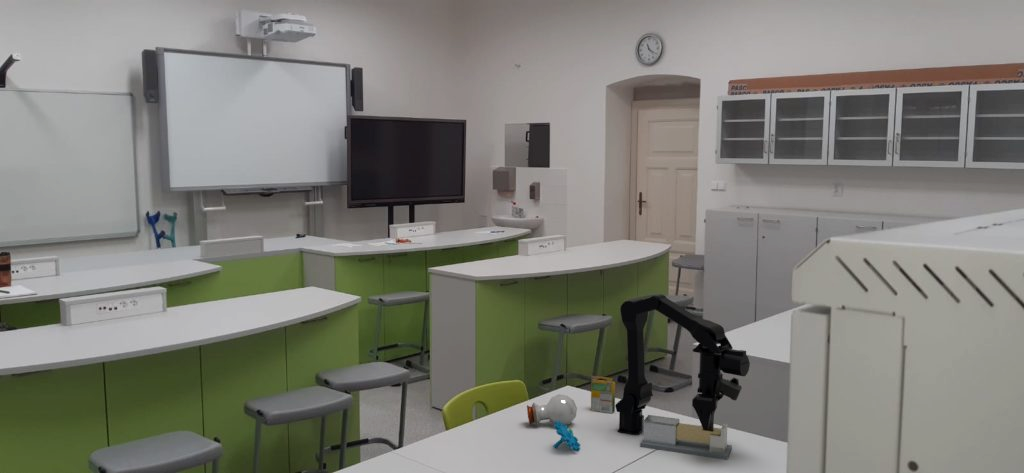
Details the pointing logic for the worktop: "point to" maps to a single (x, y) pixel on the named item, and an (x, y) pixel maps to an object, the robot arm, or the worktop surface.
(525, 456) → the worktop surface
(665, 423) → the sleeve
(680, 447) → the board
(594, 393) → the crayon box
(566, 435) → the gear
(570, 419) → the potion bottle
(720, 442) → the socket
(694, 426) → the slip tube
